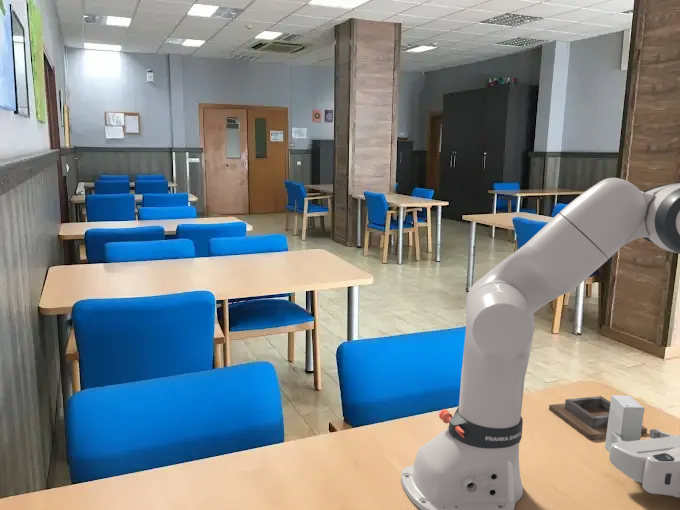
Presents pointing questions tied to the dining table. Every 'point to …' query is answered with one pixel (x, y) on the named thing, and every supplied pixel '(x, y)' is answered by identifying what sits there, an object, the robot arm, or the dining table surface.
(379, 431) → the dining table surface
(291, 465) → the dining table surface
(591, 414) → the collar stand
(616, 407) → the skincare box
